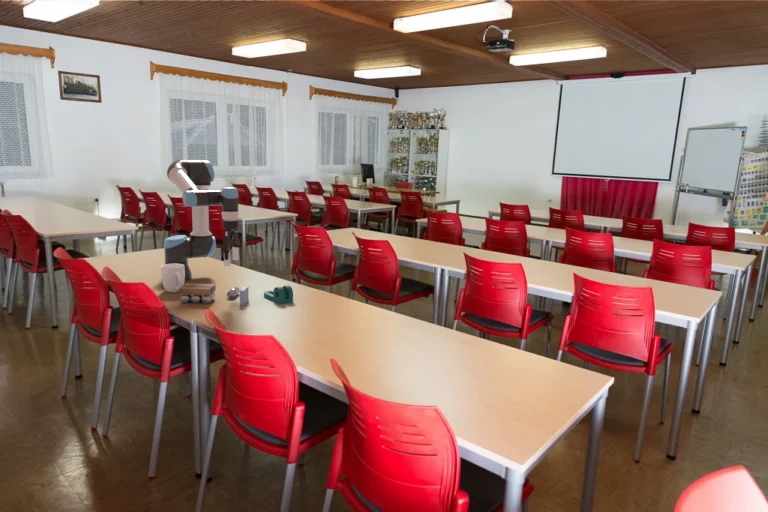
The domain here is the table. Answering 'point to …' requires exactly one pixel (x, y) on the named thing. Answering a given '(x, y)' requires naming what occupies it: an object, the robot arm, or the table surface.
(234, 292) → the roller
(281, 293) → the bracket
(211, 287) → the slab
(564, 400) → the table surface
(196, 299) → the grey ball cluster
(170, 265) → the mug
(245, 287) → the stop block
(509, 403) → the table surface
